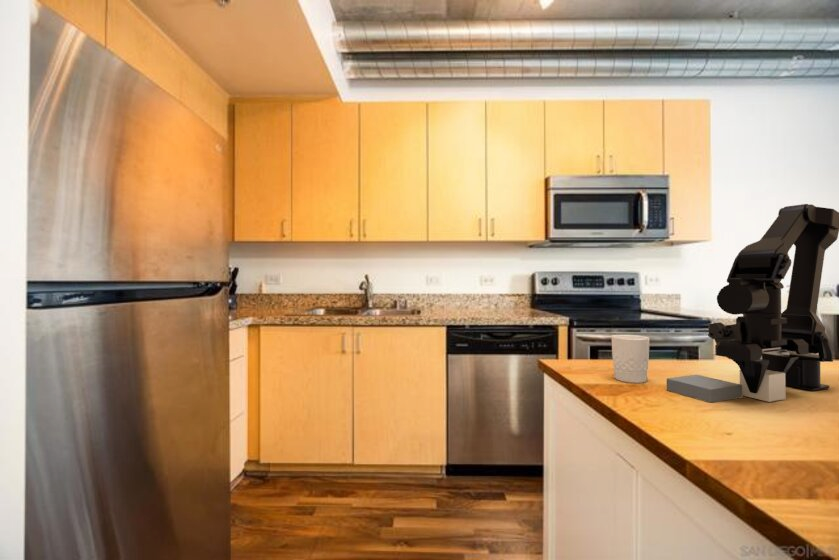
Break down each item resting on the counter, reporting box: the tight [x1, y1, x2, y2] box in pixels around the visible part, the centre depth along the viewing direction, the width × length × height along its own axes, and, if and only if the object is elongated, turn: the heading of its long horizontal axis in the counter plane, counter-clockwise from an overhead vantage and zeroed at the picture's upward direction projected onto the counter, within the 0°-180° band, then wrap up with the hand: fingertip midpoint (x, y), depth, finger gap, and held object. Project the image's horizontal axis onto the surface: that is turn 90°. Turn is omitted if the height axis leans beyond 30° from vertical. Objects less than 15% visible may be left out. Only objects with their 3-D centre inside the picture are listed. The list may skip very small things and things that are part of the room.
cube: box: [739, 369, 787, 403], centre depth 78 cm, size 5×5×5 cm
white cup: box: [611, 334, 651, 384], centre depth 92 cm, size 8×8×10 cm
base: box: [666, 374, 743, 403], centre depth 81 cm, size 9×9×2 cm
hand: (762, 391), depth 78 cm, fingers closed on cube, 5 cm apart
